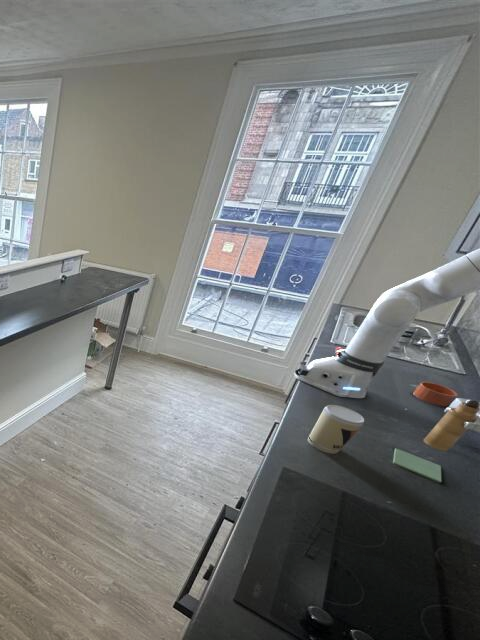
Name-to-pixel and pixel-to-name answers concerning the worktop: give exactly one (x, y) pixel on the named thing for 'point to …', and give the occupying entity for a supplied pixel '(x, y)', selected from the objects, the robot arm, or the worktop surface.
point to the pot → (435, 393)
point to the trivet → (417, 465)
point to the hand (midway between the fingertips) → (455, 417)
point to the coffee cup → (335, 428)
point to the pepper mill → (452, 425)
